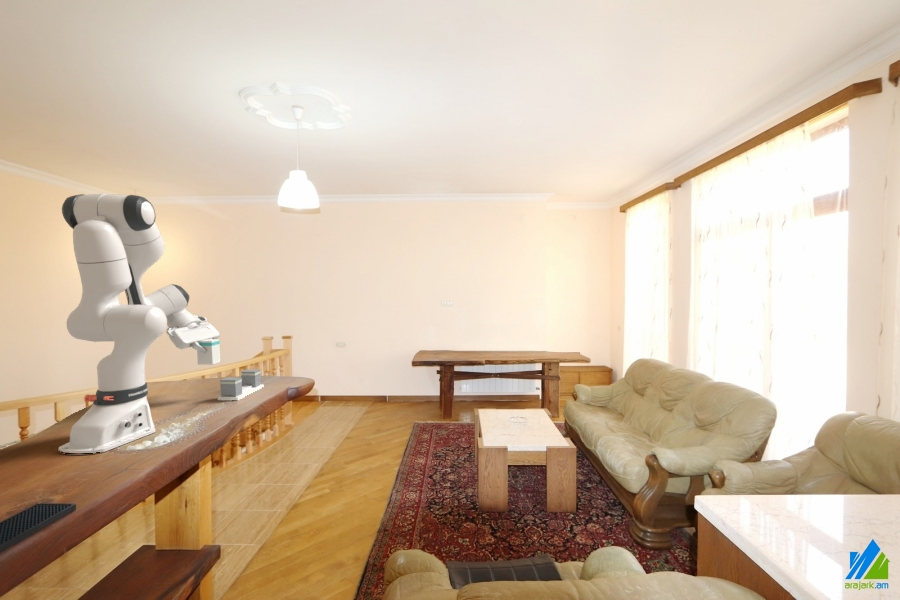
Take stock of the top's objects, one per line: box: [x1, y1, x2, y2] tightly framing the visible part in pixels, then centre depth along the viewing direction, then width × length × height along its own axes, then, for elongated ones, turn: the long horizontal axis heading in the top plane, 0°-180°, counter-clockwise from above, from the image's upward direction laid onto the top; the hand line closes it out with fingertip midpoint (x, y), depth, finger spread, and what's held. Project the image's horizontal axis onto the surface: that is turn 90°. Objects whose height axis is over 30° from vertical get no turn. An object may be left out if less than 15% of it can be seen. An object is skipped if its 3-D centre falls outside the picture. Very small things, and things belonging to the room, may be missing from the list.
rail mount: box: [217, 368, 265, 401], centre depth 161 cm, size 18×8×8 cm, turn 175°
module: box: [196, 338, 221, 366], centre depth 154 cm, size 5×6×9 cm
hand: (210, 350), depth 154 cm, fingers closed on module, 4 cm apart
